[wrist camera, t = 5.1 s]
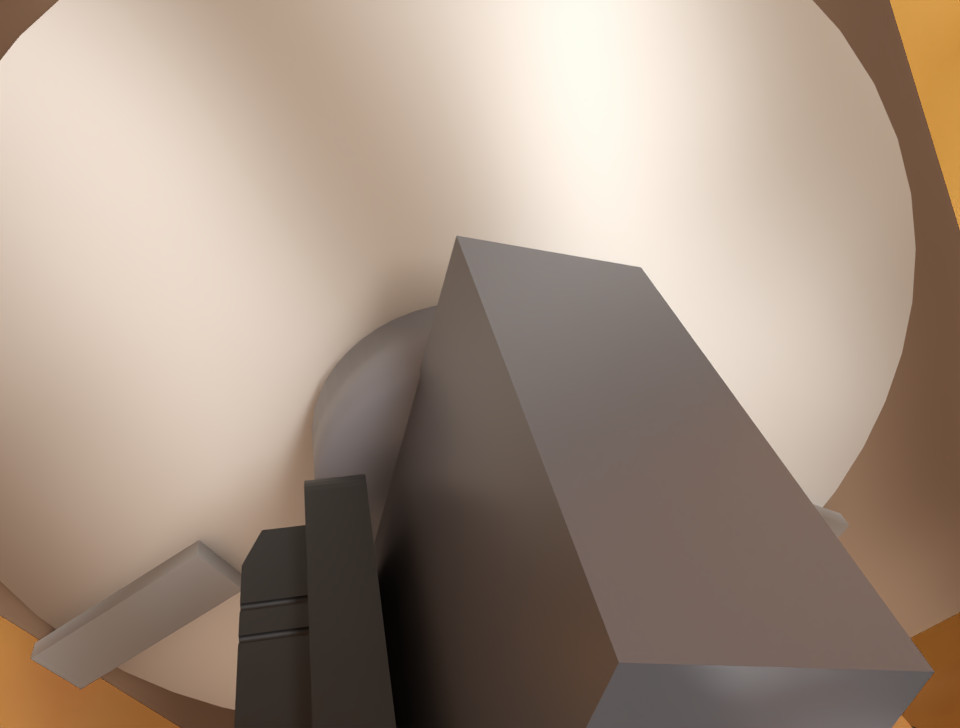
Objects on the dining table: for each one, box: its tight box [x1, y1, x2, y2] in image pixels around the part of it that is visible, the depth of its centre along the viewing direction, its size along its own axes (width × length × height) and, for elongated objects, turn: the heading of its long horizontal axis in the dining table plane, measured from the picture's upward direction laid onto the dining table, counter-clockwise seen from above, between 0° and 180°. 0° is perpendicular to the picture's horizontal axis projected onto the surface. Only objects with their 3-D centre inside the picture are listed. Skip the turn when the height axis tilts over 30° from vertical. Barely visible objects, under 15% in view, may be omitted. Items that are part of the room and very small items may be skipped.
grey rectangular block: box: [312, 236, 935, 728], centre depth 11 cm, size 10×4×7 cm, turn 165°
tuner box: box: [0, 0, 960, 728], centre depth 15 cm, size 15×22×6 cm
